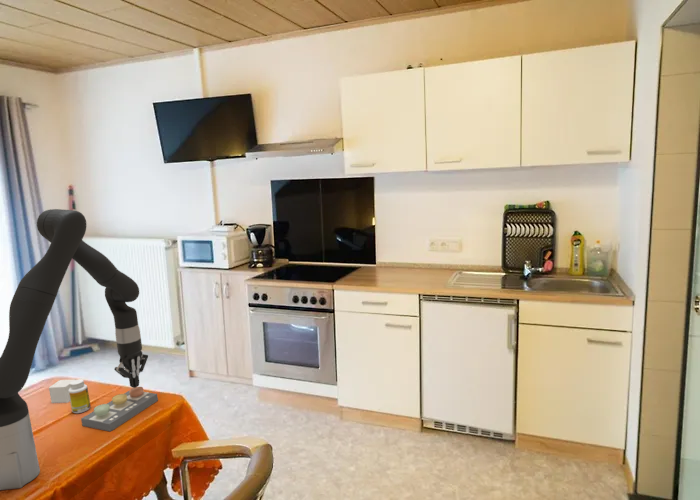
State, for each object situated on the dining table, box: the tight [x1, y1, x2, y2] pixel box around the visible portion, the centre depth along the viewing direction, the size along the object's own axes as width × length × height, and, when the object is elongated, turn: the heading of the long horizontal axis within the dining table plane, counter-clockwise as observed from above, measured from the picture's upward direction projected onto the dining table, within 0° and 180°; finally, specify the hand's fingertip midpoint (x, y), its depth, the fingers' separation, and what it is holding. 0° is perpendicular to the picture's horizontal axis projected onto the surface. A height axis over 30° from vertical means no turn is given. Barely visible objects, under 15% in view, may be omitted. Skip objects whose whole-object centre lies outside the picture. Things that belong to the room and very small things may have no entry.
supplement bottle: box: [69, 378, 91, 414], centre depth 158 cm, size 6×6×10 cm
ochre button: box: [111, 393, 127, 405], centre depth 155 cm, size 4×4×2 cm
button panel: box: [80, 390, 159, 433], centre depth 156 cm, size 20×12×3 cm, turn 159°
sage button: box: [93, 403, 110, 416], centre depth 149 cm, size 4×4×2 cm
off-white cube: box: [48, 379, 77, 404], centre depth 168 cm, size 6×6×6 cm
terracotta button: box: [128, 386, 145, 397], centre depth 162 cm, size 4×4×2 cm
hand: (135, 386), depth 161 cm, fingers closed
